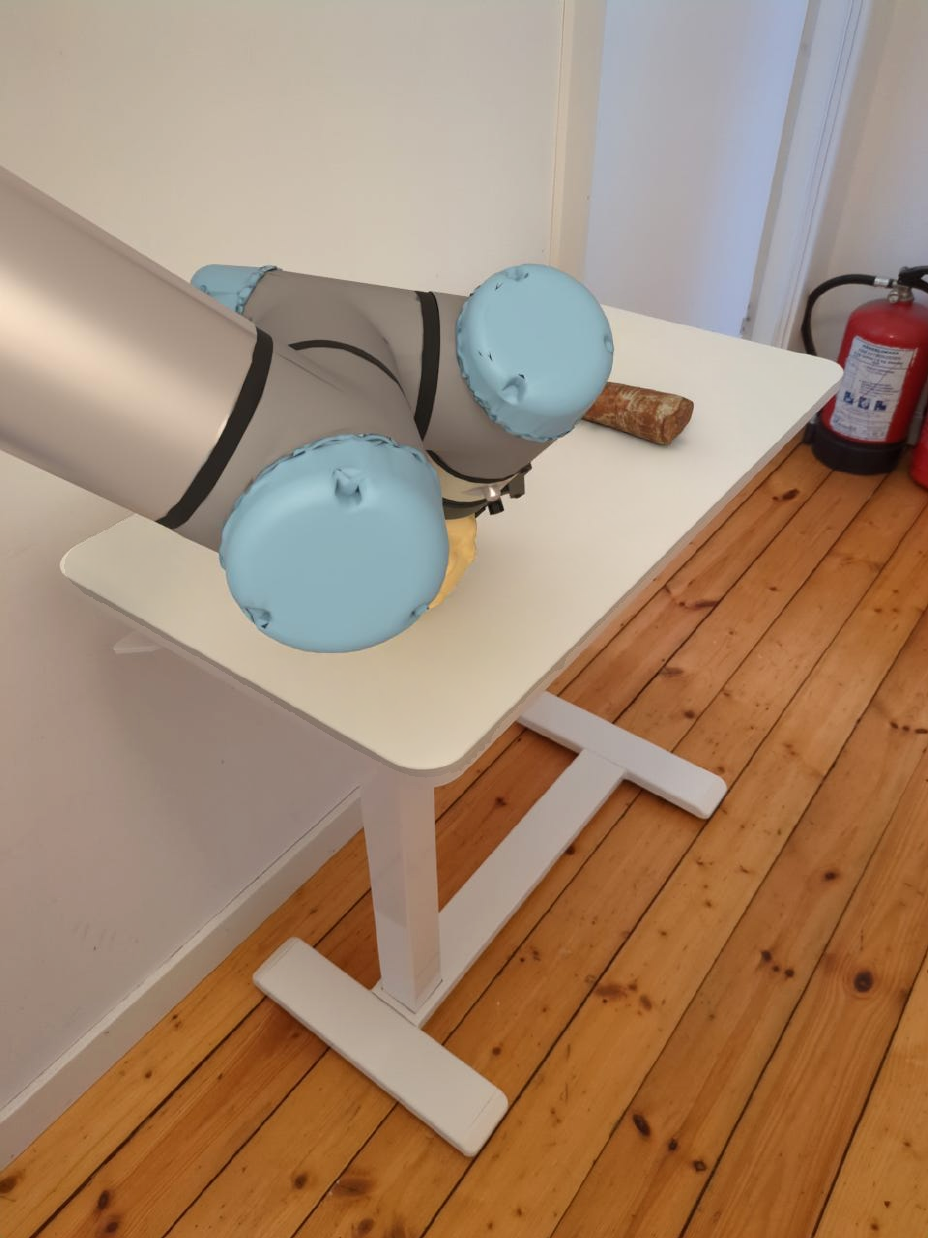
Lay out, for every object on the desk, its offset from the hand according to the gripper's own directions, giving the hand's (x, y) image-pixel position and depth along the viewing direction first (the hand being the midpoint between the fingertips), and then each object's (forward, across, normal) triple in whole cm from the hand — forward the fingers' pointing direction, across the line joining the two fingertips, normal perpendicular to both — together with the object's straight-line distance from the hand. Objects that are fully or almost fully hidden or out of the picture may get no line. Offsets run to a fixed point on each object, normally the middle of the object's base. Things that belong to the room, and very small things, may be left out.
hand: (388, 532), depth 75 cm
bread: (+19, +34, +9) cm, 40 cm away
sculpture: (+1, 0, -5) cm, 5 cm away
